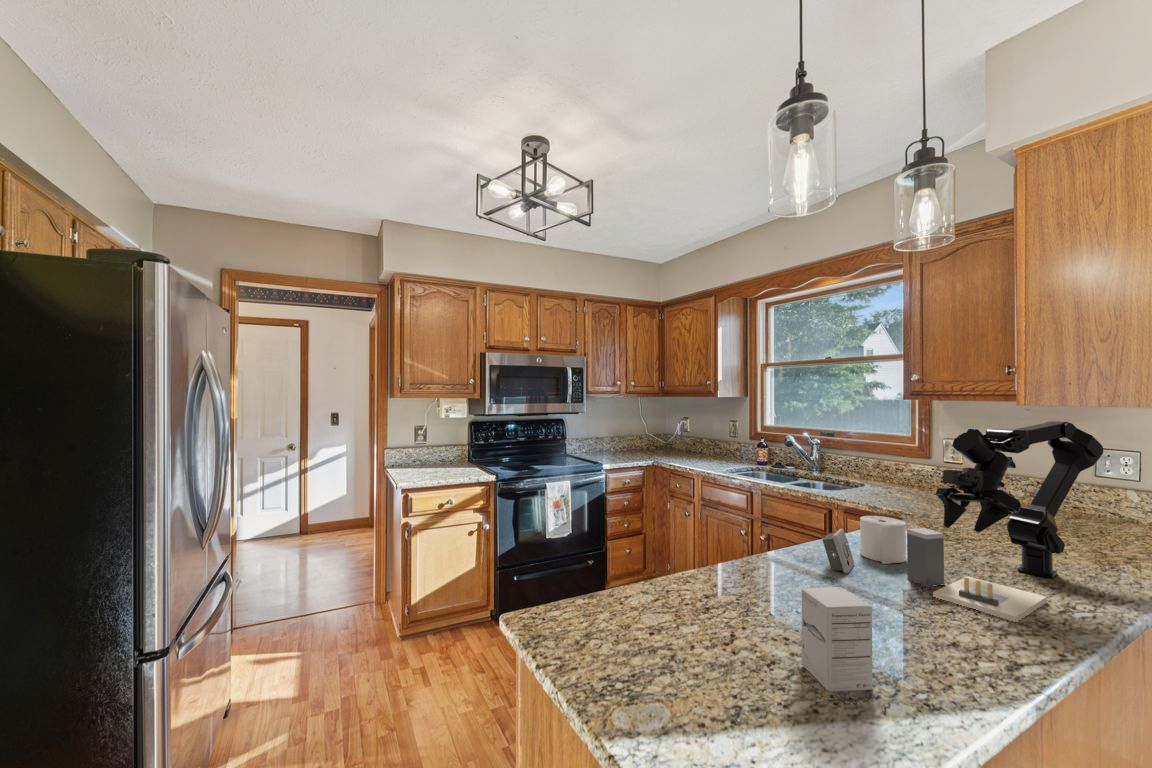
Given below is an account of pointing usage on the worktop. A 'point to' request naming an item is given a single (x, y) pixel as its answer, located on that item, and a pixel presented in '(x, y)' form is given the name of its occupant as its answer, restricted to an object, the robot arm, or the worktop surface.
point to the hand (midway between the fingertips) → (960, 529)
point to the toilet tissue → (883, 539)
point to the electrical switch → (838, 551)
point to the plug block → (925, 556)
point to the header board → (991, 598)
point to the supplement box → (837, 638)
